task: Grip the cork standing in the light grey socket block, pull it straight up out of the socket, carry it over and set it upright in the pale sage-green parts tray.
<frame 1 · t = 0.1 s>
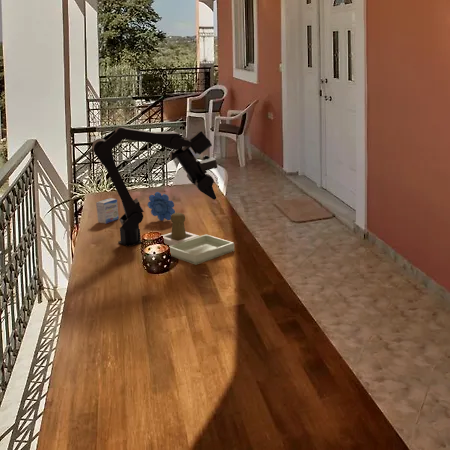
hand: (212, 195, 213), 15 cm above the table, tool tilted 30°, fingers open, 9 cm apart
blue bumpy cluster: (161, 221, 235), on the table
socket block: (179, 242, 208), on the table
parts tray: (201, 252, 197), on the table
cork: (179, 243, 208), resting in socket block
medicine box: (108, 221, 237), on the table
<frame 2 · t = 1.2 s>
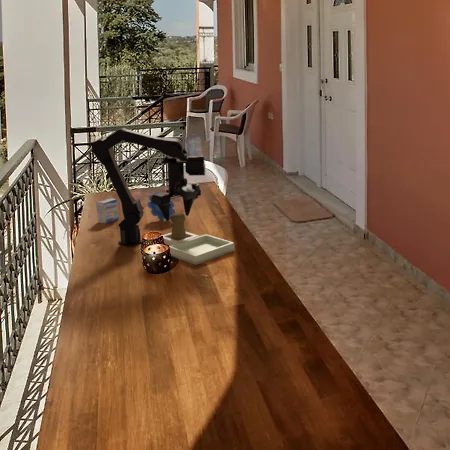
hand: (177, 218, 205), 9 cm above the table, tool pointing down, fingers open, 9 cm apart
nothing on the table moved.
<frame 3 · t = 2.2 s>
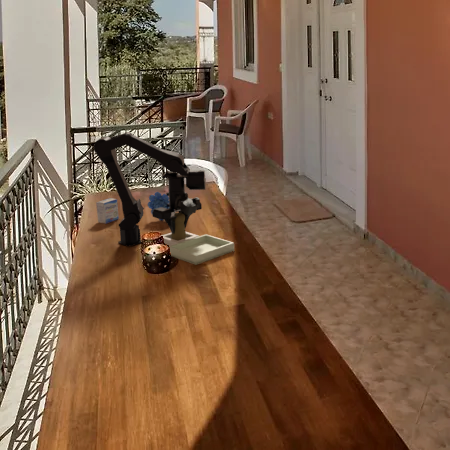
hand: (178, 232, 207), 4 cm above the table, tool pointing down, fingers closed on cork, 4 cm apart
cork: (179, 243, 208), resting in socket block, touching gripper
everything else where it was.
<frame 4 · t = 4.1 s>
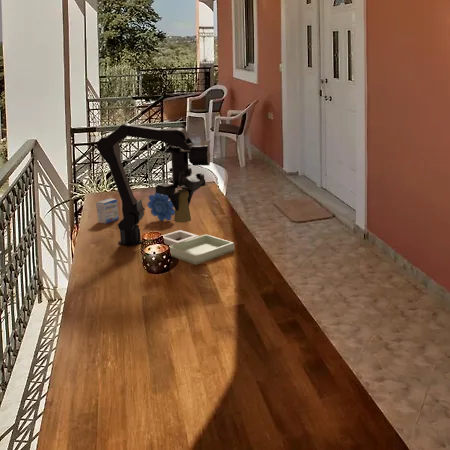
hand: (182, 209, 202), 13 cm above the table, tool pointing down, fingers closed on cork, 4 cm apart
cork: (182, 220, 203), point 9 cm above the table, touching gripper
everything else where it was.
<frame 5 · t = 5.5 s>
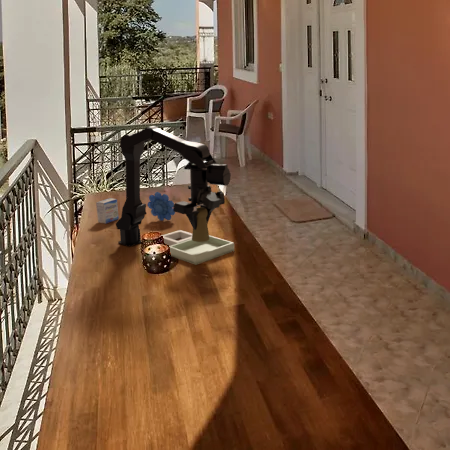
hand: (200, 227, 195), 9 cm above the table, tool pointing down, fingers closed on cork, 4 cm apart
cork: (200, 239, 196), point 5 cm above the table, touching gripper
everything else where it was.
when the fingers open (6 cm above the table, at t = 6.3 s): cork drops 2 cm, resting on parts tray.
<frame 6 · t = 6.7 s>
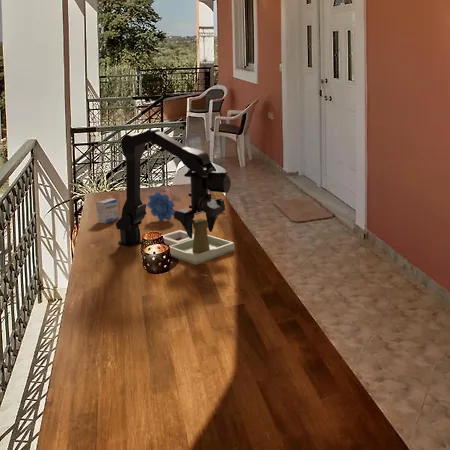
hand: (200, 234, 195), 6 cm above the table, tool pointing down, fingers open, 9 cm apart
cork: (201, 251, 197), point 1 cm above the table, touching parts tray
everything else where it was.
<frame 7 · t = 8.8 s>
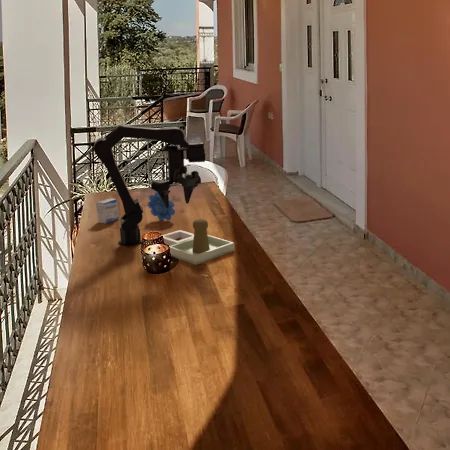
hand: (177, 205, 208), 13 cm above the table, tool pointing down, fingers open, 9 cm apart
nothing on the table moved.
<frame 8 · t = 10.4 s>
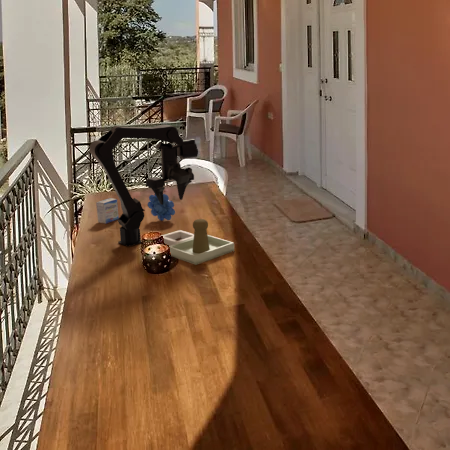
hand: (171, 202, 212), 13 cm above the table, tool pointing down, fingers open, 9 cm apart
nothing on the table moved.
at the end: cork inside the target area on the parts tray (0.1 cm from its centre), point 0.6 cm above the parts tray's base; cork tilted 0°; the gripper is holding nothing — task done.
